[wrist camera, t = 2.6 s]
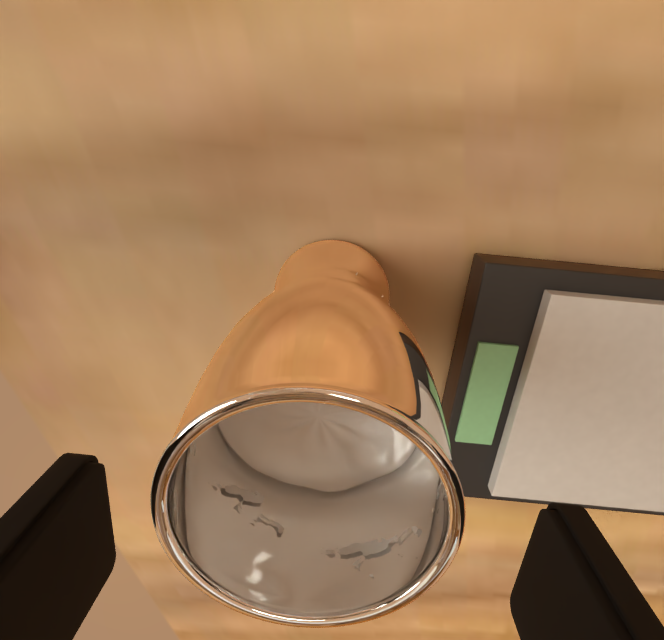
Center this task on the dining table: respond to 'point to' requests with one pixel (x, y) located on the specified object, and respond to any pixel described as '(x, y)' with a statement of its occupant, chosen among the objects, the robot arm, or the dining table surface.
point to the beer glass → (313, 456)
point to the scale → (559, 385)
